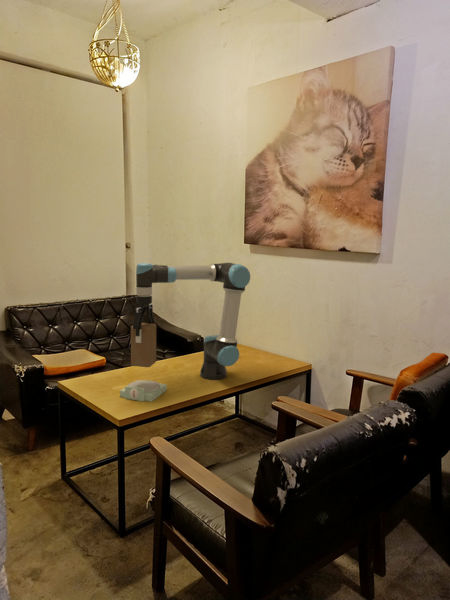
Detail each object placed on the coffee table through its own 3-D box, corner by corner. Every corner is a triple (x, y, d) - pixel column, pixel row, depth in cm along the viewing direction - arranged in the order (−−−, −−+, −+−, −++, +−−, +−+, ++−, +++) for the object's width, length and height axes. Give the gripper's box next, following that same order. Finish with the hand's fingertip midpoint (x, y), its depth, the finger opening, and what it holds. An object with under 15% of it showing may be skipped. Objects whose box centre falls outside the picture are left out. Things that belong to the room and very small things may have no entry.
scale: (166, 390, 233) (166, 378, 232) (149, 402, 215) (149, 390, 214) (136, 385, 238) (136, 374, 237) (118, 397, 220) (118, 386, 219)
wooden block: (149, 368, 219) (149, 327, 216) (130, 366, 221) (130, 326, 218) (156, 362, 229) (157, 323, 226) (138, 360, 231) (138, 322, 228)
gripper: (148, 292, 232) (147, 334, 235) (125, 298, 210) (125, 344, 214) (161, 293, 229) (161, 335, 233) (139, 299, 208) (139, 346, 211)
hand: (143, 340), depth 223 cm, fingers closed on wooden block, 10 cm apart
